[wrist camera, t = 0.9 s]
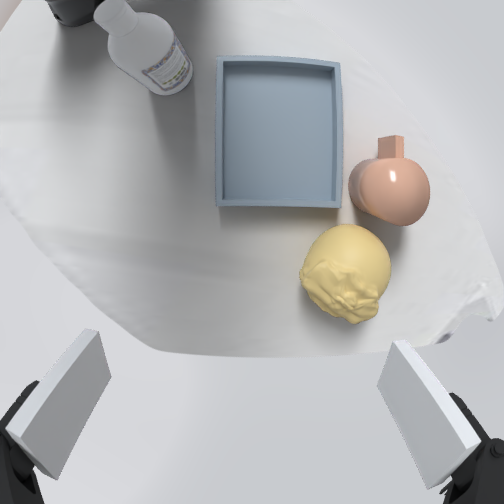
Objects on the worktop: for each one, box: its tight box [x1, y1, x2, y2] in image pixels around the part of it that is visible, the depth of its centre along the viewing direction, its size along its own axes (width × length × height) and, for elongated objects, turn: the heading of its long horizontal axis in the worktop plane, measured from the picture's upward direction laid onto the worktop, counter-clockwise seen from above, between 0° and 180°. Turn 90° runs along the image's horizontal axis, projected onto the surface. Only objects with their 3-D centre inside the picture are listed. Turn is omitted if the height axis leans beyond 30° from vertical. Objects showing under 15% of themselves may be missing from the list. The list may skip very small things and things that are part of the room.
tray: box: [215, 56, 343, 208], centre depth 33 cm, size 20×16×3 cm
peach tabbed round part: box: [348, 135, 430, 226], centre depth 32 cm, size 8×11×9 cm
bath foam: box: [94, 0, 193, 95], centre depth 22 cm, size 7×7×20 cm
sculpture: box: [299, 224, 391, 324], centre depth 35 cm, size 12×12×11 cm
